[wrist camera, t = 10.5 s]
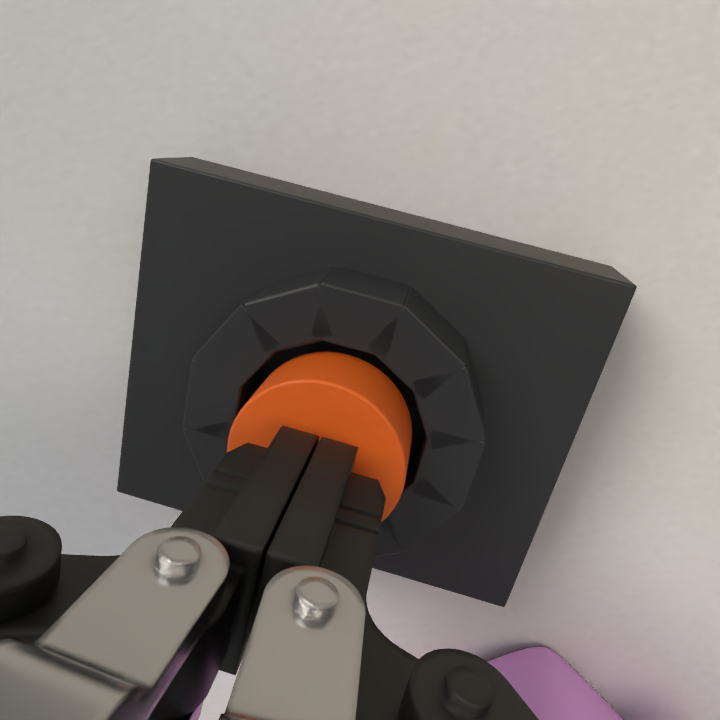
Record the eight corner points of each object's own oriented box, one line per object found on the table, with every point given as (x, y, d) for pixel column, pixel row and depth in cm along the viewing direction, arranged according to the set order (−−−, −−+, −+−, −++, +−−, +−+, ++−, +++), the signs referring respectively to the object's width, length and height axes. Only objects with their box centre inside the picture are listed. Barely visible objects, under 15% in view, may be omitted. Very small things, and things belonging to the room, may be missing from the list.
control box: (153, 454, 19) (77, 530, 15) (190, 156, 16) (105, 159, 12) (499, 556, 18) (510, 662, 14) (613, 266, 15) (665, 306, 11)
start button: (241, 472, 14) (213, 514, 13) (268, 331, 13) (241, 357, 11) (389, 515, 14) (381, 564, 12) (431, 376, 13) (427, 410, 11)
